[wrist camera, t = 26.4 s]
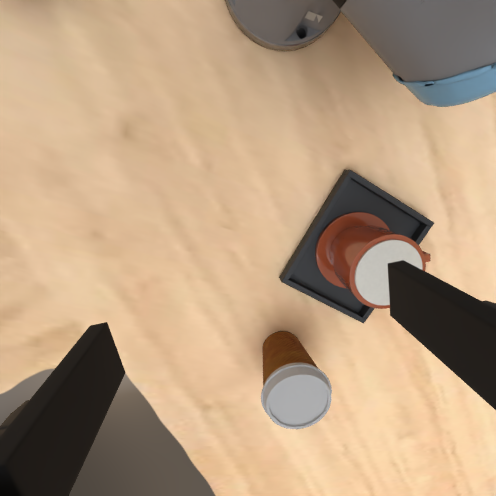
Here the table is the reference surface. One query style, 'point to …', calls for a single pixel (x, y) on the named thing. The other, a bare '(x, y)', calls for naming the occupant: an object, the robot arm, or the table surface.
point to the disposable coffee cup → (292, 383)
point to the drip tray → (338, 203)
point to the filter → (364, 256)
